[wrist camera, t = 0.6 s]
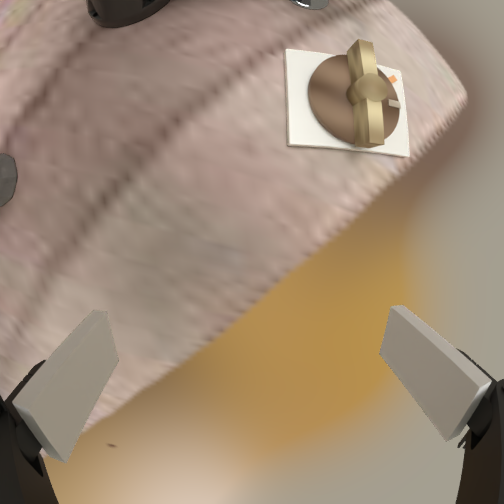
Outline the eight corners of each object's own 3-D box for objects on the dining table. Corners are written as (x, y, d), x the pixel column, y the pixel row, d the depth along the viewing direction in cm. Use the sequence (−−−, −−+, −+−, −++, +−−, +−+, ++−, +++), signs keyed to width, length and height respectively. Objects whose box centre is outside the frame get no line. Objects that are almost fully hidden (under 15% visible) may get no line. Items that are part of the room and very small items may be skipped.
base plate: (283, 53, 30) (286, 46, 28) (395, 74, 31) (402, 70, 29) (287, 145, 33) (290, 143, 31) (403, 157, 34) (411, 156, 32)
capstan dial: (304, 49, 28) (316, 28, 22) (388, 66, 29) (409, 52, 23) (310, 144, 31) (325, 136, 25) (397, 154, 32) (422, 150, 26)
